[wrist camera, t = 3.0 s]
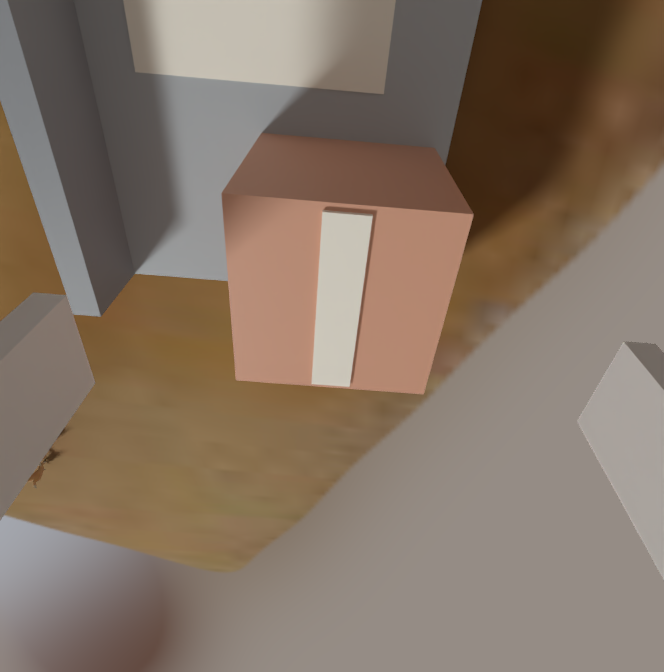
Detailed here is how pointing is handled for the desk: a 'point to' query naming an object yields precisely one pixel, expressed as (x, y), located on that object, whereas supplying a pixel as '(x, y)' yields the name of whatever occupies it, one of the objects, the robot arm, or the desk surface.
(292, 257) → the cube
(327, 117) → the tray
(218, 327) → the desk surface
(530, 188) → the desk surface
